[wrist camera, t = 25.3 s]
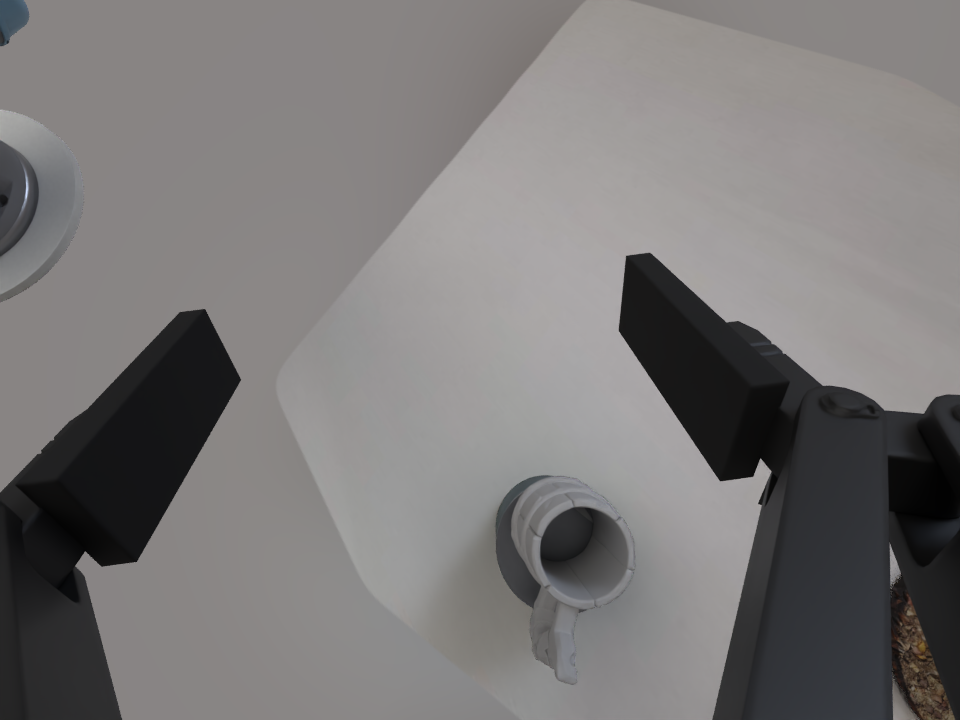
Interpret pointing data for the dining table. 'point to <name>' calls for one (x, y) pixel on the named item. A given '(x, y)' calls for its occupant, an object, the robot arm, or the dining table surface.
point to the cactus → (915, 660)
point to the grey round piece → (557, 543)
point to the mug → (569, 566)
